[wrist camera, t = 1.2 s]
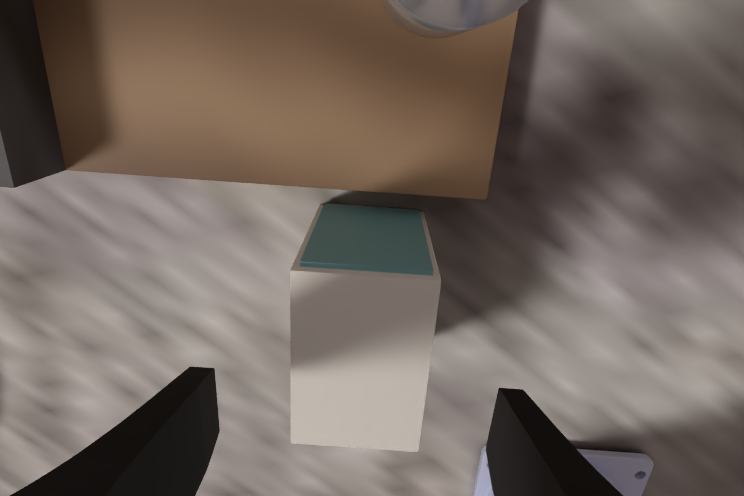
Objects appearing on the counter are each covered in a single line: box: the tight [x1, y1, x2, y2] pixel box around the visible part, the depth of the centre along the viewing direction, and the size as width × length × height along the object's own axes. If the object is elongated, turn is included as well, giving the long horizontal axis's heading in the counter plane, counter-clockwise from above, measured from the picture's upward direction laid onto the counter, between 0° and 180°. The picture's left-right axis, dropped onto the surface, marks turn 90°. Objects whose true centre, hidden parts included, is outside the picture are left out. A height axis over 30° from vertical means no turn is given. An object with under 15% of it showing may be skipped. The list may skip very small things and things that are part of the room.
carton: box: [290, 203, 442, 452], centre depth 16 cm, size 6×4×6 cm, turn 176°
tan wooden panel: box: [0, 0, 519, 200], centre depth 14 cm, size 10×16×4 cm, turn 86°
